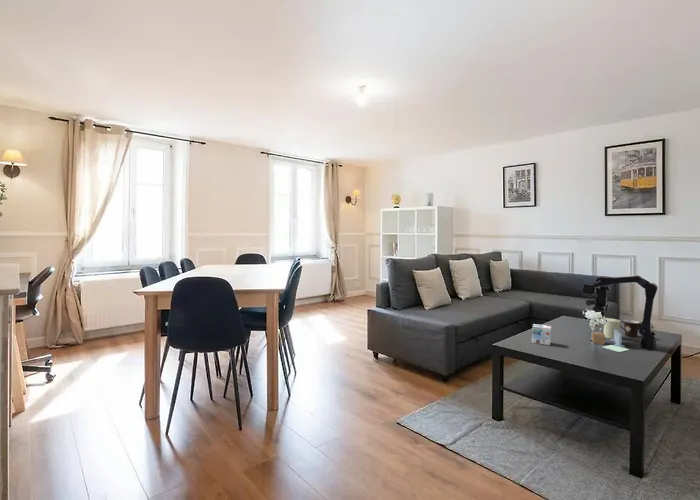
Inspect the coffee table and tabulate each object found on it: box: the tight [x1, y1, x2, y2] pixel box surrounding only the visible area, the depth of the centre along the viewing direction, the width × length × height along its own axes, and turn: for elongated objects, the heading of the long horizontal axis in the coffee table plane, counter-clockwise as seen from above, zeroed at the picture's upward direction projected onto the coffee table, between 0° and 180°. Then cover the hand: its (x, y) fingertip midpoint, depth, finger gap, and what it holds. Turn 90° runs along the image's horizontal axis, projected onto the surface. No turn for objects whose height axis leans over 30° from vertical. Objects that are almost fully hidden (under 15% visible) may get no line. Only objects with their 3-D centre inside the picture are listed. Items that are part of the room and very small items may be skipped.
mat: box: [602, 344, 630, 353], centre depth 231 cm, size 10×10×1 cm
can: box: [602, 317, 621, 340], centre depth 255 cm, size 9×9×12 cm
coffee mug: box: [620, 319, 640, 339], centre depth 259 cm, size 12×9×10 cm
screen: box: [610, 329, 626, 348], centre depth 240 cm, size 14×5×8 cm, turn 155°
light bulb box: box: [531, 323, 552, 346], centre depth 242 cm, size 11×7×11 cm, turn 62°
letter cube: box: [591, 331, 606, 346], centre depth 242 cm, size 6×6×6 cm
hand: (600, 319), depth 248 cm, fingers open, 9 cm apart
